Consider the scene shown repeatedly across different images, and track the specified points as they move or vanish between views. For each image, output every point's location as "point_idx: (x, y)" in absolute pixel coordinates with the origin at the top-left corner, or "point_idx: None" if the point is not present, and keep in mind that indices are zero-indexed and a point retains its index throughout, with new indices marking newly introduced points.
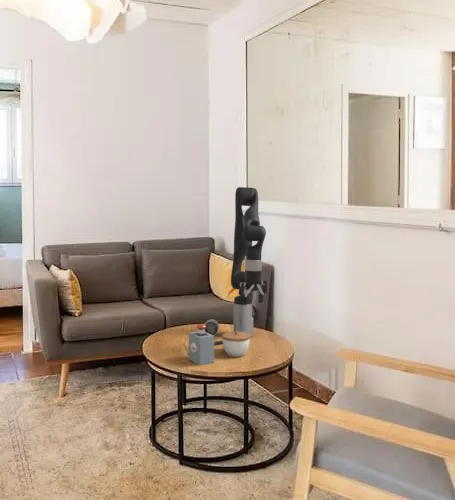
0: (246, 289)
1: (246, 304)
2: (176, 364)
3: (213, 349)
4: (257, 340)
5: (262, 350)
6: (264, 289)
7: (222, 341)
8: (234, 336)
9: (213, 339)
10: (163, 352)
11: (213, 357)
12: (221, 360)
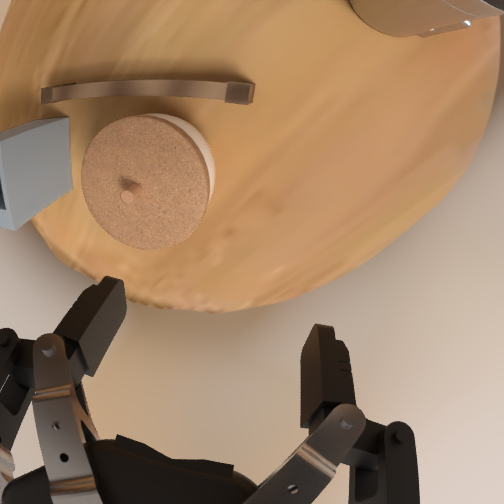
0: (65, 431)
1: (120, 313)
2: None
3: (44, 206)
4: (394, 84)
5: (295, 193)
6: (352, 488)
7: (139, 95)
8: (113, 210)
9: (21, 223)
10: (21, 31)
11: (61, 195)
12: None
